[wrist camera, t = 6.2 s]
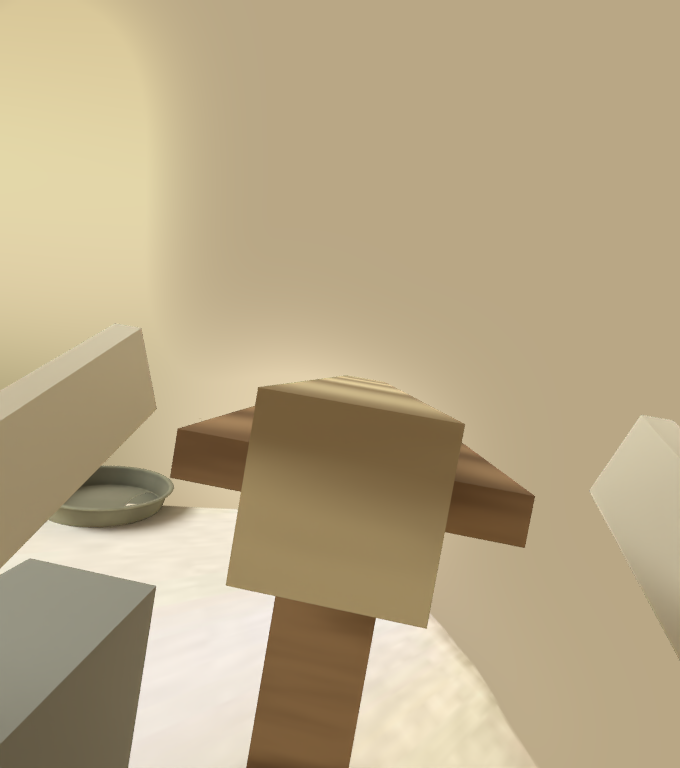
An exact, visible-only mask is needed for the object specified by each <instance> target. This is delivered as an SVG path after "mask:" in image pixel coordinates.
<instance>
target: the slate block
mask: <svg viewBox="0 0 680 768" xmlns="http://www.w3.org/2000/svg"><path fill="white" fill-rule="evenodd" d="M155 591H156V586H154V585H149V584H145V583H140V582H136V581H131V580H127V579H122V578H117V577H113V576H108V575H104V574H99V573H94V572H90V571H85V570H81V569H76V568H72V567H67V566H62V565H58V564H53V563H49V562H44V561H40V560H35V559H28V560H26V561H24V562H23V563H21V564H19V565H17V566H15V567H14V568H12V569H10V570H8V571H6V572H5V573H3V574H1V575H0V768H128V764H129V758H130V751H131V745H132V739H133V732H134V726H135V719H136V713H137V706H138V700H139V694H140V687H141V681H142V674H143V668H144V661H145V655H146V648H147V642H148V636H149V629H150V623H151V616H152V610H153V603H154V597H155Z"/></svg>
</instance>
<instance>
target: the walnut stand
mask: <svg viewBox="0 0 680 768" xmlns="http://www.w3.org/2000/svg"><path fill="white" fill-rule="evenodd" d="M254 410H255V406H253V407H249V408H246V409H243V410H239V411H236V412H232V413H229V414H226V415H222V416H219V417H215V418H212V419H209V420H205V421H202V422H199V423H195V424H192V425H188V426H186V427H182V428H178V431H177V436H176V443H175V449H174V456H173V462H172V469H171V475H170V477H171V478H175V479H180V480H185V481H190V482H195V483H200V484H205V485H210V486H215V487H221V488H225V489H230V490H235V491H240V492H241V489H242V483H243V477H244V471H245V465H246V459H247V453H248V447H249V440H250V434H251V428H252V422H253V416H254ZM534 498H535V496H534V495H533V494H531V493H530V492H529V491H527V490H526V489H524V488H523V487H521V486H520V485H519V484H518V483H516V482H515V481H513V480H512V479H511V478H509V477H508V476H507V475H505V474H504V473H503V472H501V471H500V470H499V469H497V468H496V467H494V466H493V465H492V464H490V463H489V462H488V461H486V460H485V459H484V458H482V457H481V456H479V455H478V454H477V453H475V452H474V451H472V450H471V449H470V448H468V447H467V446H466V445H464V444H463V443H461V448H460V454H459V459H458V464H457V470H456V475H455V480H454V486H453V491H452V496H451V502H450V507H449V512H448V517H447V523H446V528H445V532H448V533H453V534H457V535H462V536H467V537H472V538H478V539H483V540H488V541H493V542H498V543H503V544H508V545H514V546H518V547H523V548H524V547H525V544H526V539H527V534H528V529H529V524H530V518H531V513H532V508H533V503H534ZM375 620H376V618H375V617H370V616H366V615H361V614H356V613H352V612H347V611H342V610H338V609H333V608H329V607H324V606H319V605H315V604H310V603H305V602H301V601H296V600H291V599H287V598H282V597H277V596H275V602H274V608H273V614H272V620H271V626H270V632H269V638H268V643H267V649H266V655H265V661H264V667H263V673H262V679H261V685H260V691H259V696H258V702H257V708H256V714H255V720H254V726H253V732H252V738H251V744H250V750H249V755H248V761H247V767H246V768H349V763H350V757H351V752H352V746H353V741H354V735H355V730H356V724H357V719H358V713H359V708H360V702H361V697H362V691H363V686H364V680H365V675H366V669H367V664H368V658H369V653H370V647H371V642H372V636H373V631H374V625H375Z"/></svg>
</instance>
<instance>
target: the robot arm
mask: <svg viewBox="0 0 680 768" xmlns="http://www.w3.org/2000/svg"><path fill="white" fill-rule="evenodd" d="M156 409H157V408H156V402H155V397H154V392H153V387H152V381H151V376H150V371H149V366H148V361H147V355H146V350H145V345H144V340H143V334H142V329H141V328H138V327H133V326H127V325H121V324H113V325H111V326H110V327H108V328H106V329H105V330H103V331H101V332H99V333H98V334H96V335H94V336H93V337H91V338H89V339H87V340H86V341H84V342H82V343H81V344H79V345H77V346H75V347H74V348H72V349H70V350H69V351H67V352H65V353H64V354H62V355H60V356H58V357H57V358H55V359H53V360H52V361H50V362H48V363H46V364H45V365H43V366H41V367H40V368H38V369H36V370H34V371H33V372H31V373H29V374H27V375H26V376H24V377H22V378H21V379H19V380H17V381H15V382H14V383H12V384H10V385H9V386H7V387H5V388H3V389H2V390H0V568H1V567H2V566H3V565H4V564H5V563H6V562H7V561H8V560H9V559H10V558H11V557H12V556H13V555H14V554H15V553H16V552H17V551H18V550H19V549H20V548H21V547H22V546H23V545H24V544H25V543H26V542H27V541H28V540H29V539H30V538H31V537H32V536H33V535H34V534H35V533H36V532H37V531H38V530H39V528H40V527H41V526H42V525H43V524H44V523H45V522H46V521H47V520H48V519H49V518H50V517H51V516H52V515H53V514H54V513H55V512H56V511H57V510H58V509H59V508H60V507H61V506H62V505H63V504H64V503H65V502H66V501H67V500H68V499H69V498H70V497H71V496H72V495H73V494H74V493H75V492H76V491H77V490H78V489H79V488H80V487H81V486H82V485H83V484H84V483H85V482H86V481H87V480H88V479H89V477H90V476H91V475H92V474H93V473H94V472H95V471H96V470H97V469H98V468H99V467H100V466H101V465H102V464H103V463H104V462H105V461H106V460H107V459H108V458H109V457H110V456H111V455H112V454H113V453H114V452H115V451H116V450H117V449H118V448H119V447H120V446H121V445H122V444H123V443H124V442H125V441H126V440H127V439H128V438H129V437H130V436H131V435H132V434H133V433H134V432H135V431H136V430H137V429H138V427H139V426H140V425H141V424H142V423H143V422H144V421H145V420H146V419H147V418H148V417H149V416H150V415H151V414H152V413H153V412H154V411H155V410H156ZM589 491H590V493H591V495H592V497H593V499H594V501H595V503H596V505H597V507H598V508H599V510H600V512H601V514H602V516H603V518H604V519H605V522H606V523H607V525H608V527H609V529H610V531H611V533H612V535H613V537H614V538H615V540H616V542H617V544H618V546H619V548H620V550H621V551H622V553H623V555H624V557H625V559H626V561H627V562H628V565H629V566H630V568H631V570H632V572H633V574H634V576H635V578H636V579H637V581H638V583H639V585H640V587H641V589H642V591H643V592H644V595H645V596H646V598H647V600H648V602H649V604H650V606H651V607H652V610H653V611H654V613H655V615H656V617H657V619H658V620H659V622H660V624H661V626H662V628H663V630H664V632H665V634H666V636H667V638H668V639H669V641H670V643H671V645H672V647H673V649H674V651H675V653H676V654H677V656H678V658H679V660H680V427H679V426H678V425H677V424H676V423H675V422H674V421H673V420H668V419H662V418H656V417H650V416H644V415H641V416H640V417H639V419H638V420H637V422H636V423H635V425H634V426H633V427H632V429H631V431H630V432H629V433H628V435H627V436H626V438H625V439H624V441H623V442H622V443H621V445H620V447H619V448H618V450H617V451H616V452H615V454H614V455H613V457H612V458H611V460H610V461H609V463H608V464H607V465H606V467H605V468H604V470H603V471H602V473H601V474H600V476H599V477H598V479H597V480H596V481H595V483H594V484H593V486H592V487H591V489H590V490H589Z"/></svg>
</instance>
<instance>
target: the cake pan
mask: <svg viewBox="0 0 680 768" xmlns="http://www.w3.org/2000/svg"><path fill="white" fill-rule="evenodd" d="M173 489H174V485H173V483H172V482H171V480H170V479H169V478H167V477H166V476H164V475H162V474H159V473H157V472H153V471H150V470H146V469H141V468H134V467H125V466H100V467H99V468H98V469H97V470H96V471H95V472H94V473H93V474H92V475H91V476H90V477H89V479H88V480H87V481H86V482H85V483H84V484H83V485H82V486H81V487H80V488H79V489H78V490H77V491H76V492H75V493H74V494H73V495H72V496H71V497H70V498H69V499H68V500H67V501H66V502H65V503H64V504H63V505H62V506H61V507H60V508H59V509H58V510H57V511H56V512H55V513H54V514H53V515H52V516H51V517H50V518H49V519H48V520H50V521H53V522H55V523H59V524H63V525H68V526H75V527H111V526H118V525H124V524H129V523H133V522H137V521H140V520H143V519H146V518H148V517H150V516H152V515H154V514H155V513H157V512H158V511H159V510H160V509H161V507H162V505H163V502H164V500H165V498H166V497H168V496H169V495H170V494H171V493H172V491H173ZM127 504H136V505H130V506H126V505H127Z"/></svg>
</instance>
